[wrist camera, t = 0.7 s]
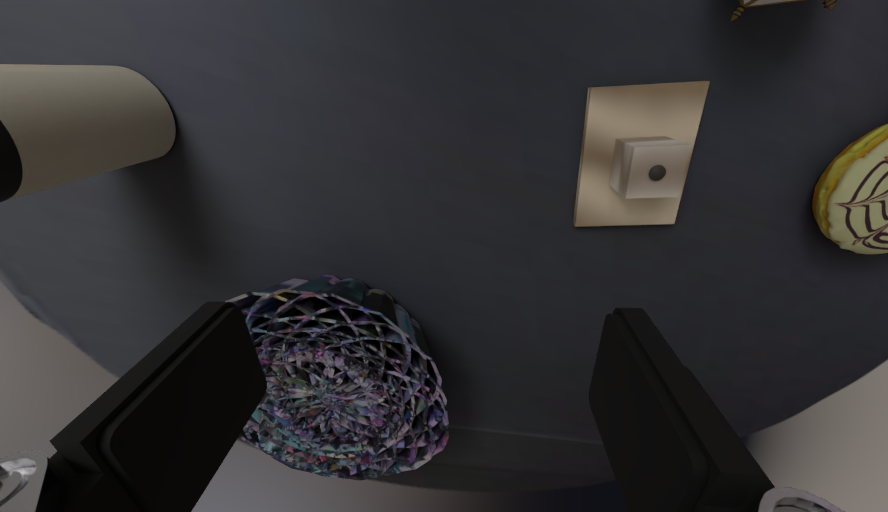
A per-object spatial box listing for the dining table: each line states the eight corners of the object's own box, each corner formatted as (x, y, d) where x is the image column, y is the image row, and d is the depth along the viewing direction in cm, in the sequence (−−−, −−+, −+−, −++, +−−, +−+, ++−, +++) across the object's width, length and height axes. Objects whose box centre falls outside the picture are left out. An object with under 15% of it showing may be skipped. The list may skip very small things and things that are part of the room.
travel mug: (148, 56, 31) (-199, 42, 15) (194, 150, 34) (-48, 219, 18) (71, 76, 32) (-327, 82, 16) (123, 165, 36) (-162, 242, 20)
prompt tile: (588, 87, 30) (608, 90, 25) (703, 80, 29) (745, 82, 24) (572, 223, 35) (587, 245, 31) (670, 220, 34) (699, 242, 30)
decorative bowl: (296, 414, 54) (264, 485, 45) (199, 260, 40) (127, 321, 31) (465, 402, 50) (465, 477, 42) (424, 228, 36) (411, 287, 28)
